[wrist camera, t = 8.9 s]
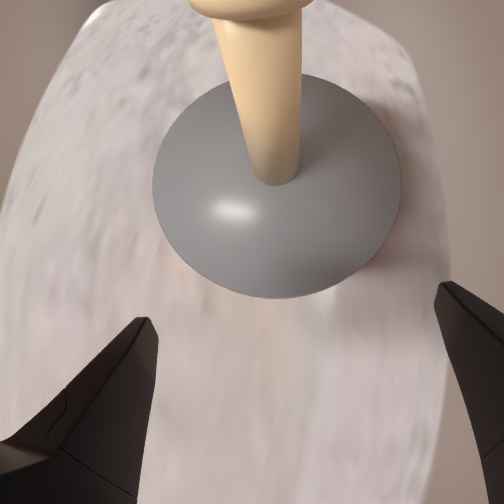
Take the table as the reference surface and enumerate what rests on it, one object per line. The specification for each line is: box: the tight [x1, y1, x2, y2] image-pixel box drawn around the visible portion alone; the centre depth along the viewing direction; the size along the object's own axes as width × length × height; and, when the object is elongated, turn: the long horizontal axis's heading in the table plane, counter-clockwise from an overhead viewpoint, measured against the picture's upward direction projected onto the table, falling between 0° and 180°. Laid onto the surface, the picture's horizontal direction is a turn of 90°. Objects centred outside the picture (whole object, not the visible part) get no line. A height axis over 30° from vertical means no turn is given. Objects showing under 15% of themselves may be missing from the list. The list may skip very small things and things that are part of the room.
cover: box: [153, 0, 402, 299], centre depth 12 cm, size 14×14×13 cm
